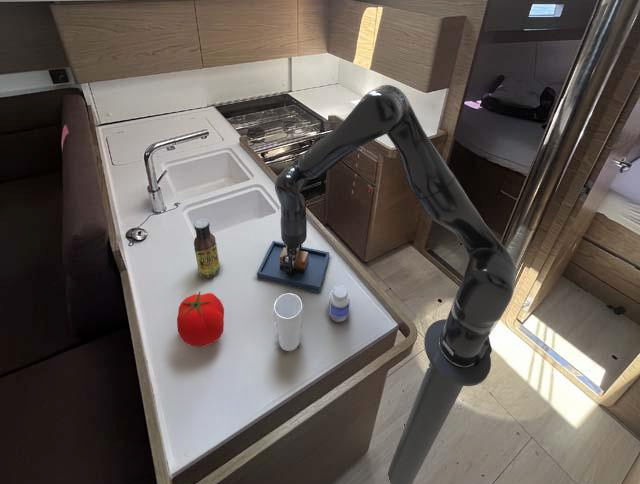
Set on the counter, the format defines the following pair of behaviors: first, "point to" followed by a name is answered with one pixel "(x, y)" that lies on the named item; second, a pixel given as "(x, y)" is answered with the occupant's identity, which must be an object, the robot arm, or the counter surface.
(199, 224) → the sauce bottle
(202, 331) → the tomato
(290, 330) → the drinking glass
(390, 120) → the robot arm
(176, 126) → the counter surface
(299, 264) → the eraser
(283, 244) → the tray
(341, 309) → the pill bottle
